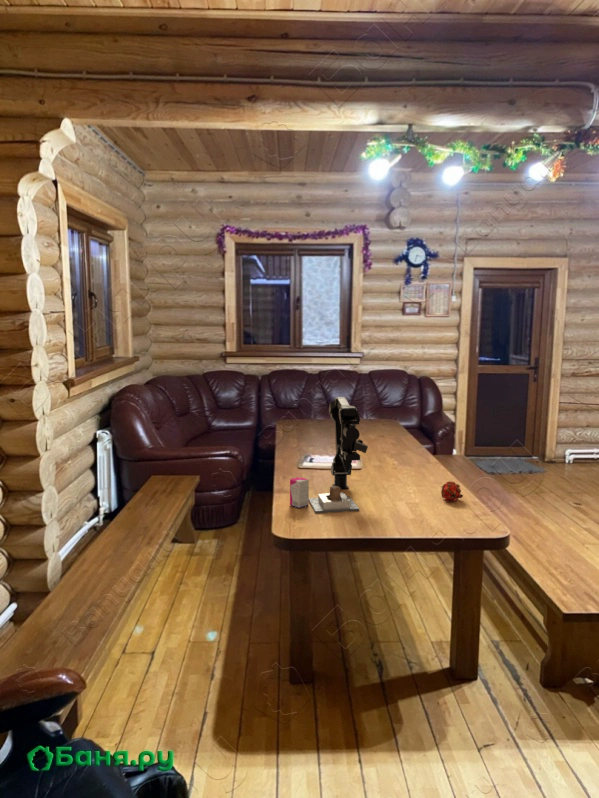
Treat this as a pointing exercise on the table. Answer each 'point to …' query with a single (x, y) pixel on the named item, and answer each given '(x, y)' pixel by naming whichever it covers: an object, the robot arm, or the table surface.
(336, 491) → the walnut dowel
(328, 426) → the table surface
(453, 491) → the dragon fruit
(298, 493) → the supplement box
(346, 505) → the jig
